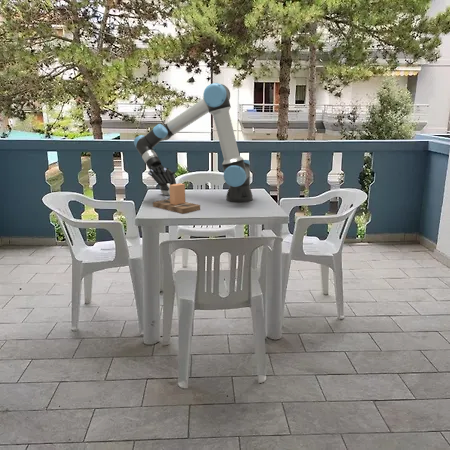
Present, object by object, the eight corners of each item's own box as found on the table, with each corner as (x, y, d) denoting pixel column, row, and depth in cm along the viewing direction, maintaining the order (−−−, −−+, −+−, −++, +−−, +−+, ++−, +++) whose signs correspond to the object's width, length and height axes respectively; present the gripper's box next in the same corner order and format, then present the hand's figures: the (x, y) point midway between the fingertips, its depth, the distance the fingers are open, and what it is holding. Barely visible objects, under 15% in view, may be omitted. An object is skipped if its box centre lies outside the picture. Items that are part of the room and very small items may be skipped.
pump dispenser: (169, 197, 263) (168, 171, 259) (156, 195, 269) (155, 170, 265) (180, 194, 271) (180, 169, 267) (167, 192, 277) (166, 168, 273)
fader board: (153, 206, 239) (153, 201, 238) (170, 203, 247) (170, 198, 247) (182, 213, 223) (182, 208, 222) (200, 209, 231) (200, 204, 231)
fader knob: (170, 203, 232) (169, 184, 230) (180, 201, 237) (179, 183, 235) (175, 204, 230) (174, 185, 227) (185, 202, 235) (184, 184, 232)
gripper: (158, 163, 248) (179, 197, 241) (139, 166, 239) (160, 200, 232) (164, 154, 243) (185, 188, 236) (144, 156, 234) (166, 192, 227)
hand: (172, 194), depth 234 cm, fingers closed
